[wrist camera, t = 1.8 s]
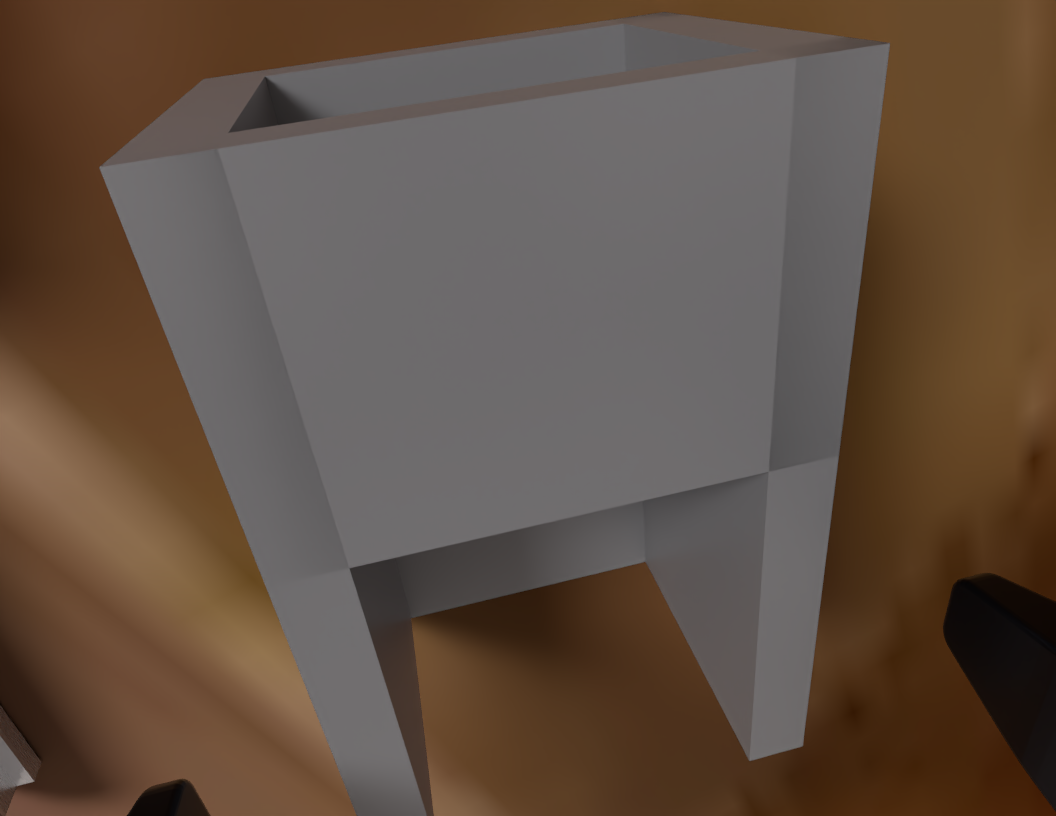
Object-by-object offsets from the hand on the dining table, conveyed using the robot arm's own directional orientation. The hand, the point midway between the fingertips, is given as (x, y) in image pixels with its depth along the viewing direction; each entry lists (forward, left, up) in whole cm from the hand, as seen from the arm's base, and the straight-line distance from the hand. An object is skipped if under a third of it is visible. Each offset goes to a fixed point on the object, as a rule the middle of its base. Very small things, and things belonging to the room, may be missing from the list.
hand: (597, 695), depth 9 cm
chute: (0, -2, -5) cm, 6 cm away
